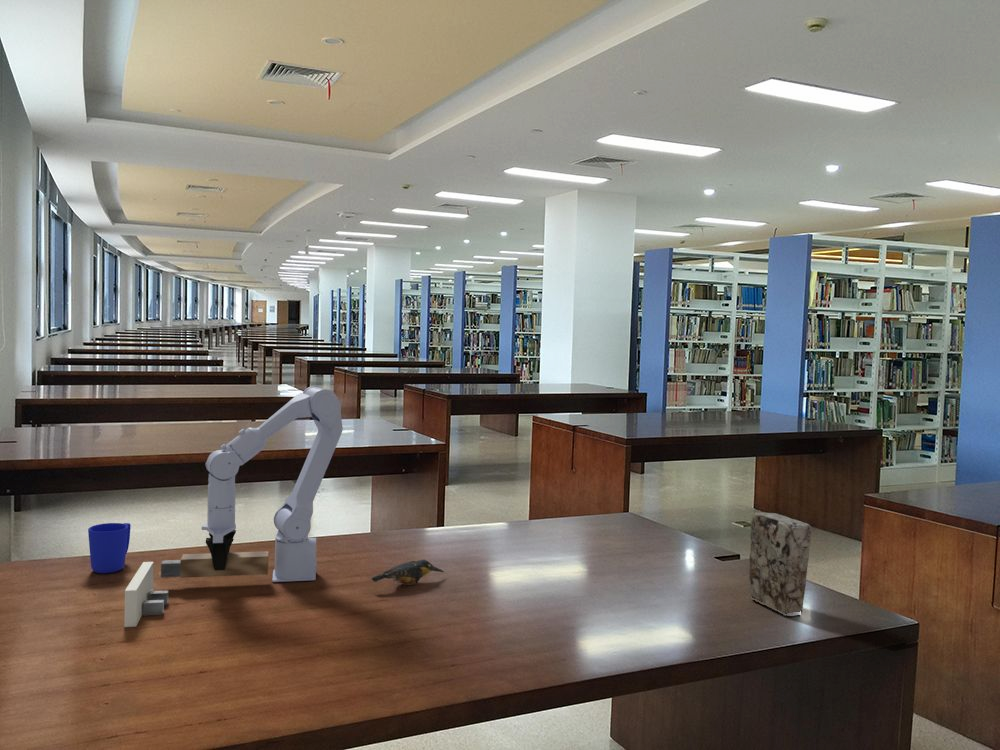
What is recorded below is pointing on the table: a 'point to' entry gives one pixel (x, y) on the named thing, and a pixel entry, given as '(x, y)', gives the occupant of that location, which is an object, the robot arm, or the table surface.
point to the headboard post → (143, 596)
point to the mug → (108, 546)
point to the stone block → (779, 561)
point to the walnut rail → (204, 566)
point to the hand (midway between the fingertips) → (220, 566)
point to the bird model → (408, 572)
